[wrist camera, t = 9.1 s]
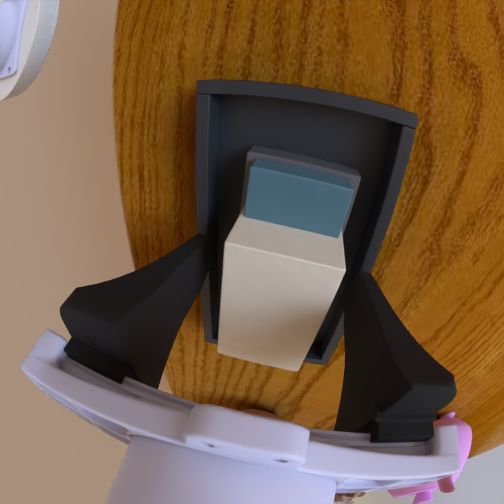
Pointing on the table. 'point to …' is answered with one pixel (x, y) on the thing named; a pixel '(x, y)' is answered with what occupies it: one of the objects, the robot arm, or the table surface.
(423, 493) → the teapot
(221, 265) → the tray
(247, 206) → the toy truck
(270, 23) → the table surface
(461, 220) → the table surface
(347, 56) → the table surface
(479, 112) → the table surface
